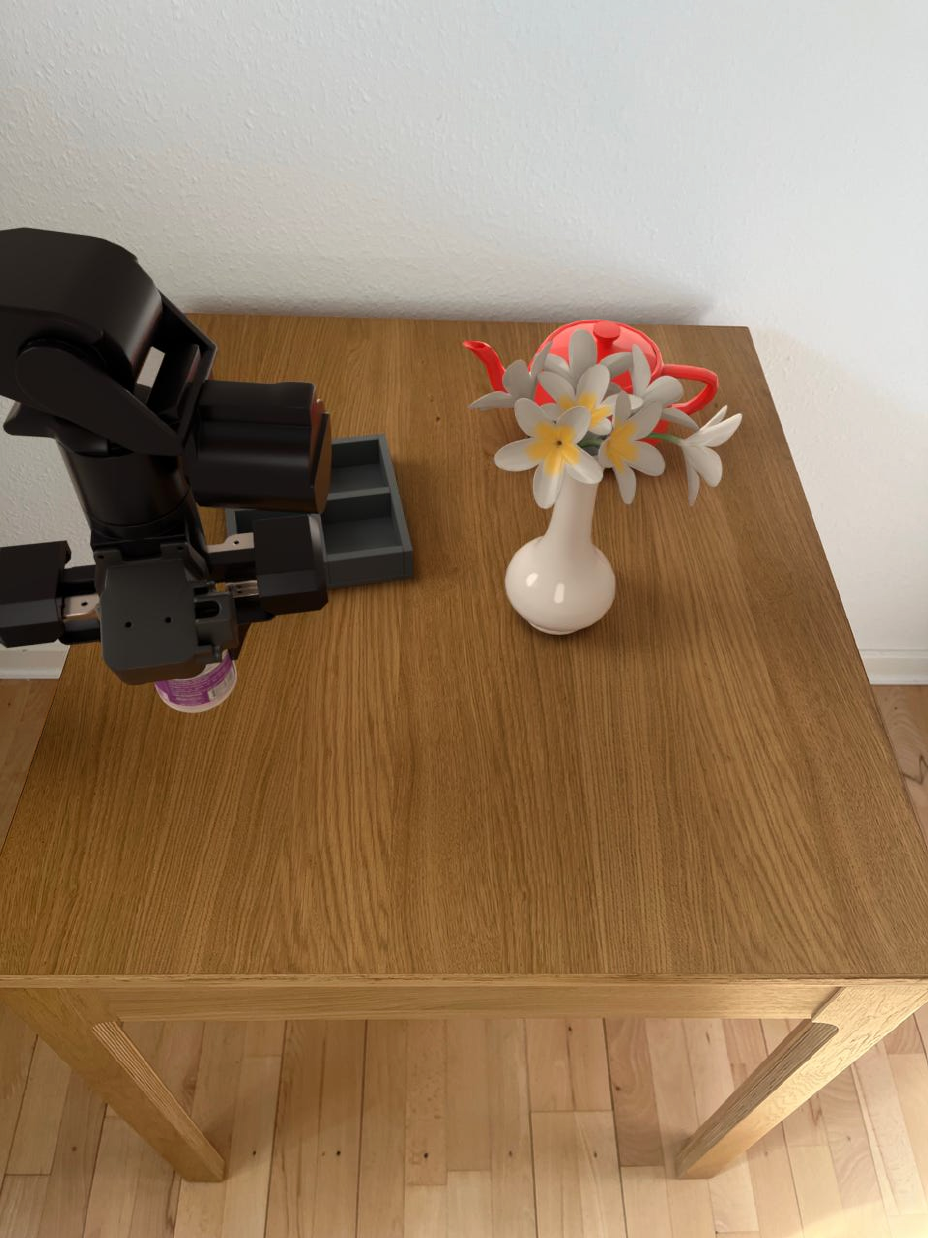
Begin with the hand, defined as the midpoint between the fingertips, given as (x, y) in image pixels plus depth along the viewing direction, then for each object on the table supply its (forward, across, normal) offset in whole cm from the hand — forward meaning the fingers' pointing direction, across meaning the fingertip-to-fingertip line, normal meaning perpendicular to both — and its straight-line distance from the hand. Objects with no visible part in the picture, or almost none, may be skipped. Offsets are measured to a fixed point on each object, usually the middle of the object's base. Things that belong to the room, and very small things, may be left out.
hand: (190, 660), depth 62 cm
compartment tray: (+12, +9, +23) cm, 28 cm away
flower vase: (+12, +30, +10) cm, 34 cm away
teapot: (+12, +37, +32) cm, 51 cm away
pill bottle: (+3, 0, 0) cm, 3 cm away
